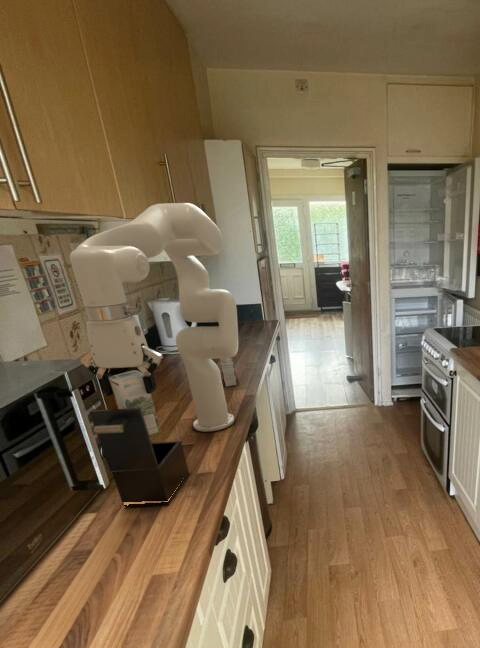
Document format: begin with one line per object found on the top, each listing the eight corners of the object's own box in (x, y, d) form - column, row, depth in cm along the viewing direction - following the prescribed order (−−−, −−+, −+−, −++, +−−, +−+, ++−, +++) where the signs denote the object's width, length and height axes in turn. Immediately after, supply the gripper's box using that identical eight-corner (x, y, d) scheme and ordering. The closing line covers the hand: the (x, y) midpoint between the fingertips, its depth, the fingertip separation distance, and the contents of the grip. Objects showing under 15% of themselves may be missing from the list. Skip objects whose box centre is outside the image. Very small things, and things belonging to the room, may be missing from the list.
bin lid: (91, 410, 88) (76, 421, 84) (141, 407, 89) (129, 418, 84) (112, 469, 94) (99, 482, 90) (158, 466, 95) (148, 479, 90)
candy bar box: (223, 379, 180) (215, 341, 173) (235, 377, 182) (228, 339, 175) (224, 387, 171) (216, 347, 164) (237, 385, 172) (230, 345, 166)
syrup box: (150, 426, 103) (134, 368, 97) (162, 432, 99) (145, 373, 93) (125, 435, 99) (106, 375, 93) (136, 442, 95) (117, 381, 89)
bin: (149, 476, 111) (139, 443, 107) (189, 474, 111) (180, 440, 107) (124, 508, 98) (111, 472, 94) (168, 505, 99) (158, 469, 95)
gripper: (159, 308, 92) (178, 385, 99) (75, 311, 91) (100, 388, 98) (144, 314, 85) (165, 396, 92) (53, 318, 84) (81, 401, 91)
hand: (131, 392), depth 95 cm, fingers closed on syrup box, 8 cm apart
